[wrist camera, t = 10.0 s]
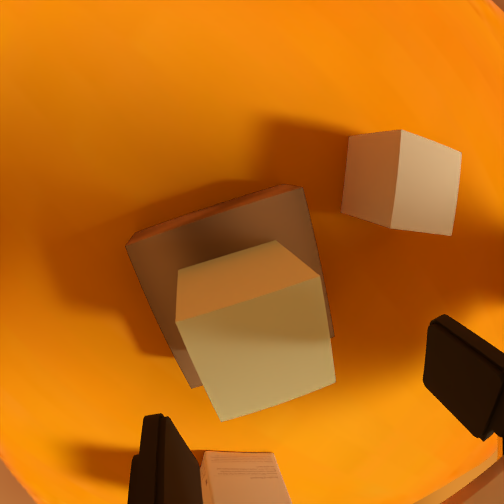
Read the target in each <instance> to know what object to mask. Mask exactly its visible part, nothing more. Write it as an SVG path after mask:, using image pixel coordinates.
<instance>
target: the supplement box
mask: <svg viewBox="0 0 504 504" xmlns="http://www.w3.org/2000/svg"><path fill="white" fill-rule="evenodd" d="M200 476H201V487H202V497H203V504H292V502H291V499H290V497H289V494H288V492H287V489H286V486H285V483H284V481H283V478H282V475H281V473H280V470H279V467H278V464H277V462H276V459H275V456H274V453H242V452H220V451H205V452H204V456H203V460H202V464H201V467H200Z"/></svg>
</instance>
